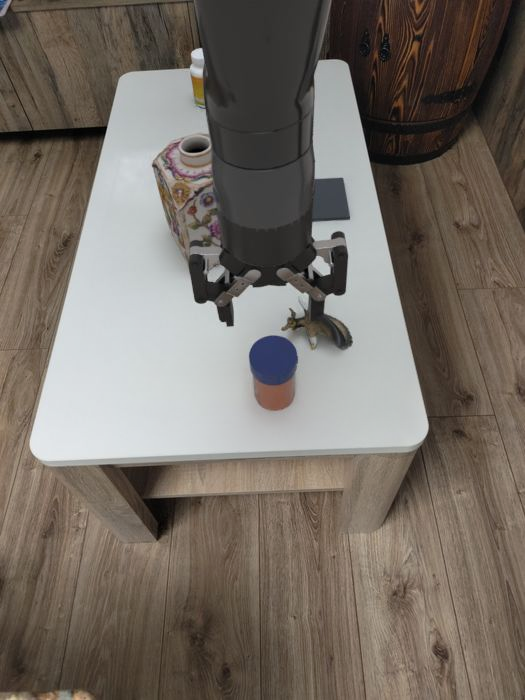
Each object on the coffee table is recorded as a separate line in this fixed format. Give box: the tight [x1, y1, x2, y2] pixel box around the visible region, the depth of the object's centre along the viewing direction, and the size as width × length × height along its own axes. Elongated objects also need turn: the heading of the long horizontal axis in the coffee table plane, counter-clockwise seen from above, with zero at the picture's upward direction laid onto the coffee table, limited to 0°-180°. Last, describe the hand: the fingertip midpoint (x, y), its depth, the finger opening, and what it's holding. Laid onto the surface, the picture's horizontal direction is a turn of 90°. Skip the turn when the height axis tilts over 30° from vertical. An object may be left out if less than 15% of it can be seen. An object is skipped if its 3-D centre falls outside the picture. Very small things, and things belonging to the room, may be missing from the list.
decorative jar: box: [151, 132, 222, 267], centre depth 75 cm, size 12×12×18 cm
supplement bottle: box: [189, 47, 205, 109], centre depth 100 cm, size 5×5×10 cm
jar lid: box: [248, 334, 299, 386], centre depth 60 cm, size 6×6×2 cm
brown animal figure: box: [280, 295, 354, 350], centre depth 69 cm, size 8×7×9 cm
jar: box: [251, 373, 296, 412], centre depth 63 cm, size 5×5×9 cm
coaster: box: [312, 177, 351, 222], centre depth 86 cm, size 10×10×1 cm
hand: (271, 317), depth 51 cm, fingers open, 8 cm apart
